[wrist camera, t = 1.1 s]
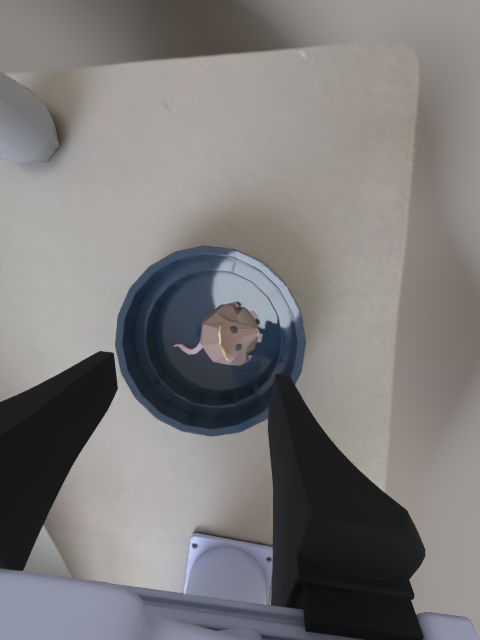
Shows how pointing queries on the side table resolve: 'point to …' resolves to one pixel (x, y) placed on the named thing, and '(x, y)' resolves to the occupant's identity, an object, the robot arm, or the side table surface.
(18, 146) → the salt shaker
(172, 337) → the bowl
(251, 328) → the mouse figurine
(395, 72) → the side table surface
